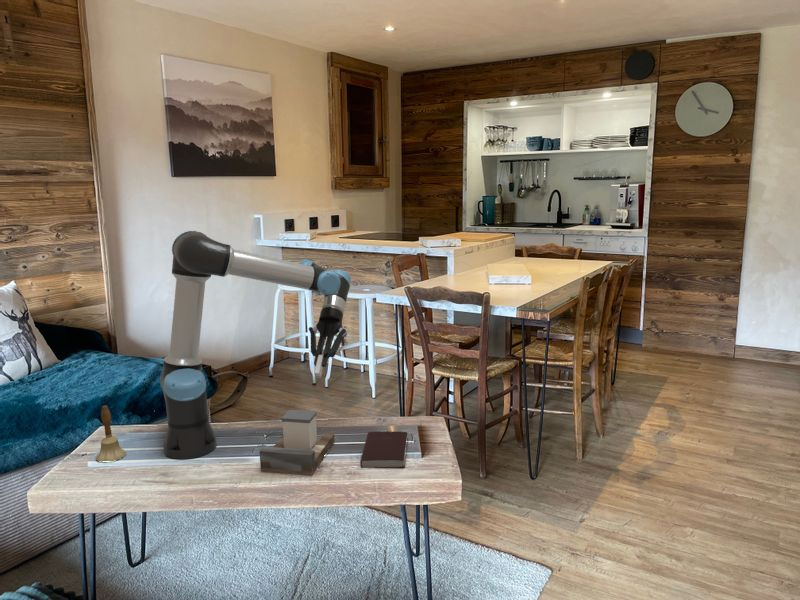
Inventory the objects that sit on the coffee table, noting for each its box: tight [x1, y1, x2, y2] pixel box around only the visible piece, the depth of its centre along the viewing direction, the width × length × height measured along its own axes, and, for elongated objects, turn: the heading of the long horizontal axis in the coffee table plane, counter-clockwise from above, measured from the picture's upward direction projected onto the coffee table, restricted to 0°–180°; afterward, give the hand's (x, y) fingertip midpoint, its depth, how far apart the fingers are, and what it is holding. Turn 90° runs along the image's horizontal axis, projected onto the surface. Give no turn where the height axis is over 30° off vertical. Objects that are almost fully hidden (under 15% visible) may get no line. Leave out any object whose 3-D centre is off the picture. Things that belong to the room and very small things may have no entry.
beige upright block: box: [280, 409, 318, 450], centre depth 181 cm, size 6×8×11 cm
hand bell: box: [95, 405, 127, 462], centre depth 181 cm, size 8×8×16 cm
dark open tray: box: [259, 432, 335, 476], centre depth 180 cm, size 21×15×6 cm
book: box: [359, 430, 408, 469], centre depth 182 cm, size 12×19×3 cm, turn 176°
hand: (317, 375), depth 194 cm, fingers closed
